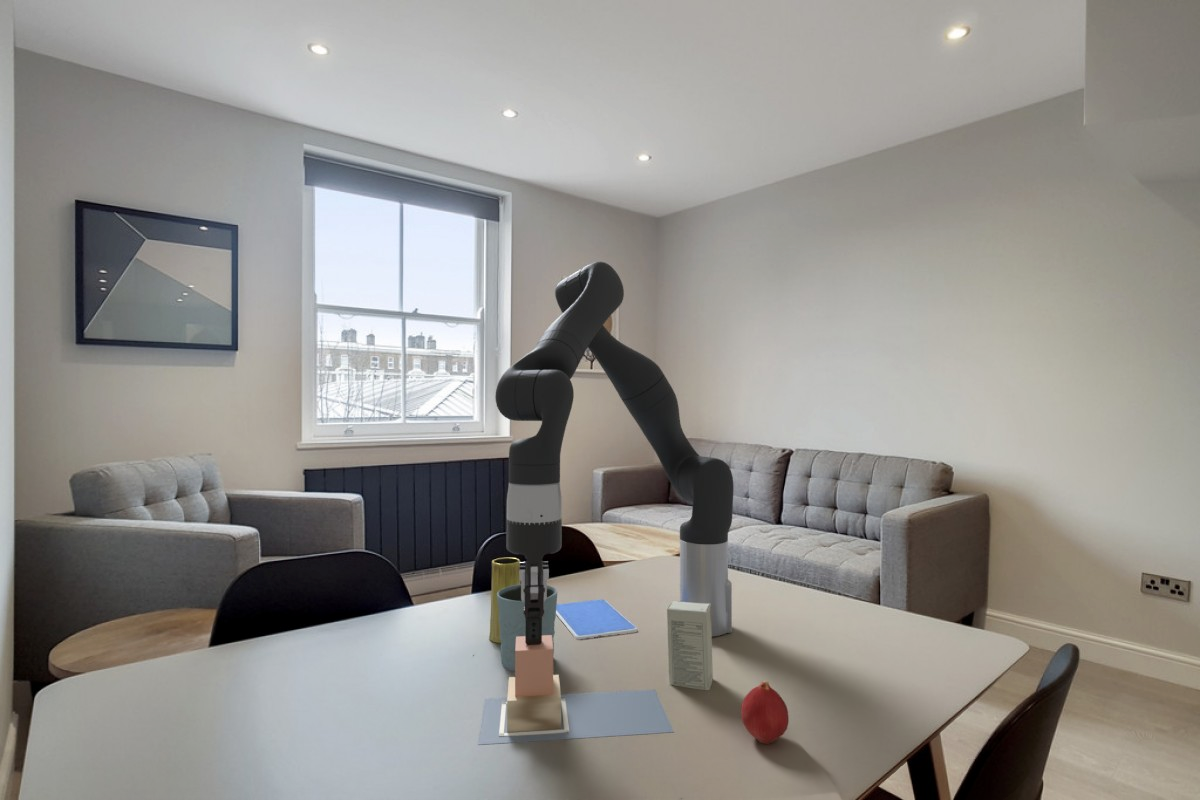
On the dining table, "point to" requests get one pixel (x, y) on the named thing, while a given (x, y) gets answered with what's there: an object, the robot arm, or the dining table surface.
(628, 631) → the tablet computer
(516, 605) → the grey-green pot
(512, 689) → the oak base block
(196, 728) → the dining table surface
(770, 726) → the onion
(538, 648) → the terracotta block
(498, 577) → the vase
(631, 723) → the board
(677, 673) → the skincare box
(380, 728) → the dining table surface
